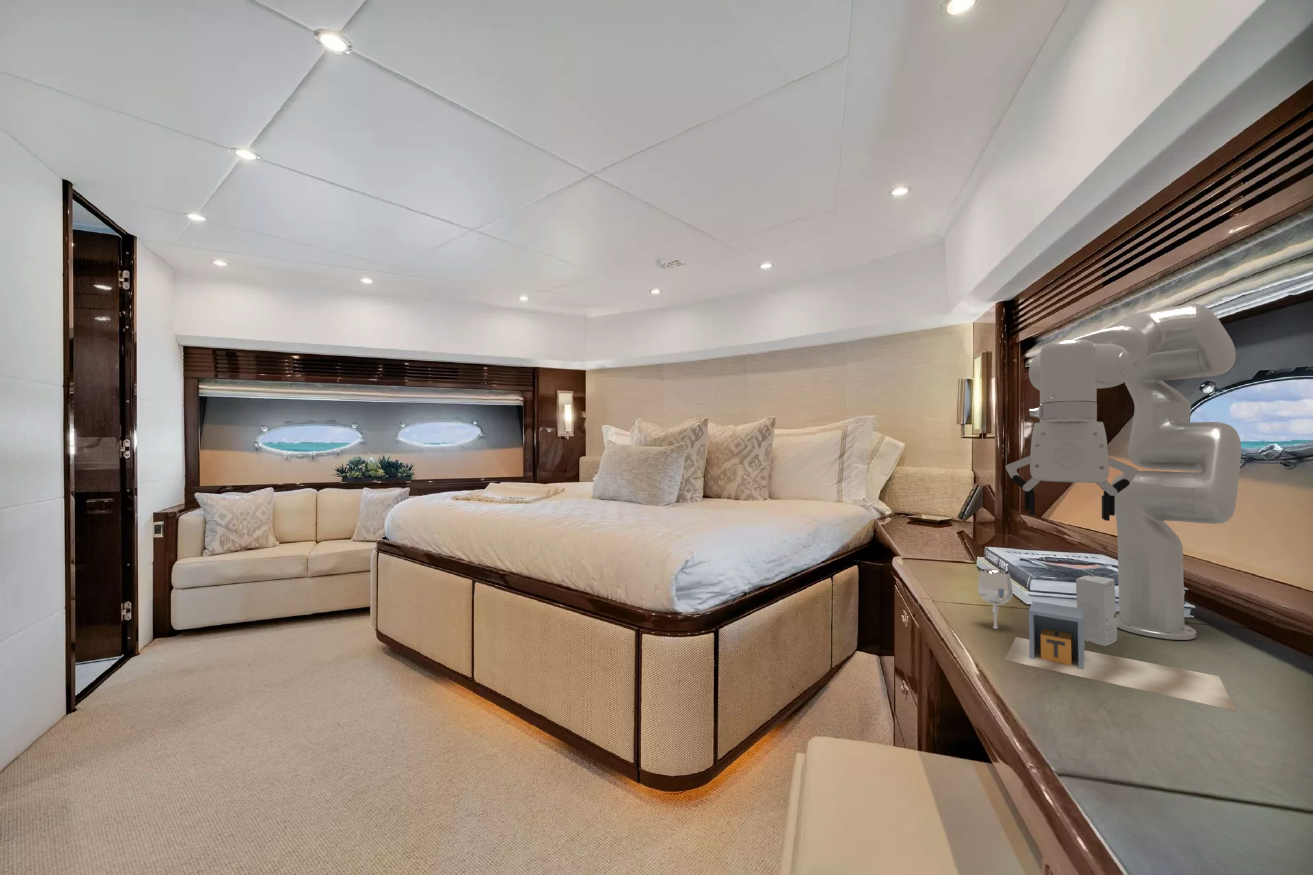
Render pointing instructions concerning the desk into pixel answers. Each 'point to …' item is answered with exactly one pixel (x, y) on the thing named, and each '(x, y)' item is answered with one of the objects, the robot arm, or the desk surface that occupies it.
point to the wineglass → (995, 588)
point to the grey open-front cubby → (1057, 626)
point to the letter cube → (1056, 646)
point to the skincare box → (1097, 608)
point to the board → (1133, 675)
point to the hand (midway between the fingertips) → (1067, 517)
